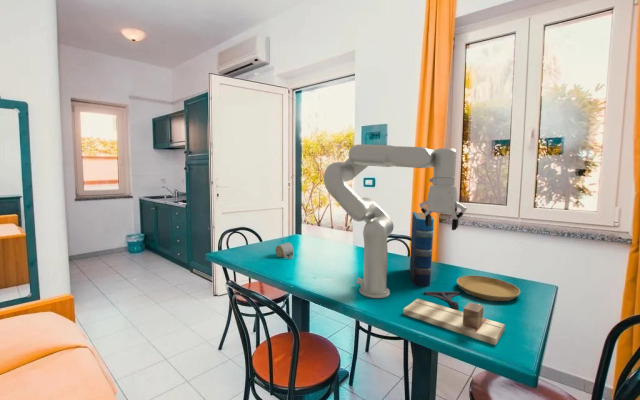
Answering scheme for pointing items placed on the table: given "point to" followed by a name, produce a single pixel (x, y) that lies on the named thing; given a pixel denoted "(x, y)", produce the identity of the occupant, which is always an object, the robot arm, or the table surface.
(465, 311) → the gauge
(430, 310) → the board
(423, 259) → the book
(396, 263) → the table surface
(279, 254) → the ceramic mug
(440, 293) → the bracket
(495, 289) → the plant saucer
